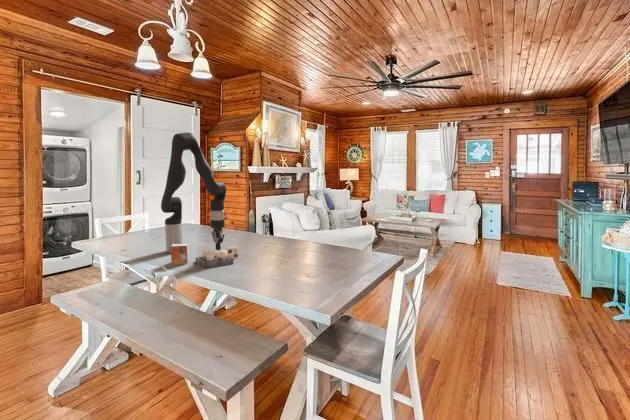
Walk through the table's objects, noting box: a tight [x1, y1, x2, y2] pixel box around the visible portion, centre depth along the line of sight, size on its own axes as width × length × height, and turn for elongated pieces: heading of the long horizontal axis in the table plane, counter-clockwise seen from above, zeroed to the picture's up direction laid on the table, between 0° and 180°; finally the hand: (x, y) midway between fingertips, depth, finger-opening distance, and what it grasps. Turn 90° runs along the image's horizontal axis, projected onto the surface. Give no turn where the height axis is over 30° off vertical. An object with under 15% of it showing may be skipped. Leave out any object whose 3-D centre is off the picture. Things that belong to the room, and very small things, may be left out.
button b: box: [218, 249, 227, 260], centre depth 181 cm, size 4×4×4 cm
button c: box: [201, 249, 210, 259], centre depth 183 cm, size 4×4×4 cm
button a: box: [206, 251, 215, 262], centre depth 177 cm, size 4×4×4 cm
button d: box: [213, 250, 220, 258], centre depth 187 cm, size 4×4×4 cm
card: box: [225, 246, 240, 260], centre depth 192 cm, size 3×7×7 cm, turn 127°
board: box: [195, 254, 234, 269], centre depth 182 cm, size 15×15×3 cm
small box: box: [170, 243, 189, 266], centre depth 181 cm, size 8×6×10 cm
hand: (218, 249), depth 187 cm, fingers closed
